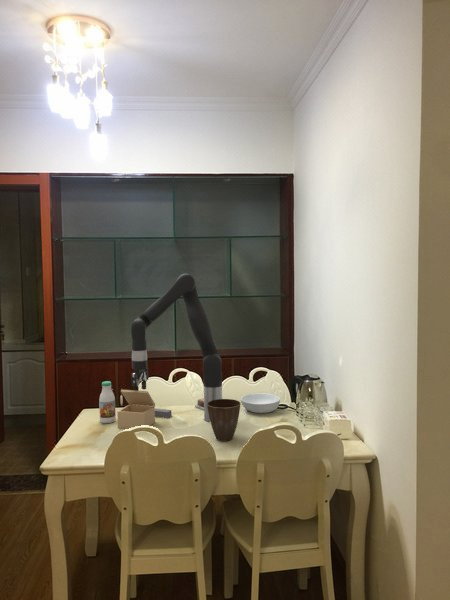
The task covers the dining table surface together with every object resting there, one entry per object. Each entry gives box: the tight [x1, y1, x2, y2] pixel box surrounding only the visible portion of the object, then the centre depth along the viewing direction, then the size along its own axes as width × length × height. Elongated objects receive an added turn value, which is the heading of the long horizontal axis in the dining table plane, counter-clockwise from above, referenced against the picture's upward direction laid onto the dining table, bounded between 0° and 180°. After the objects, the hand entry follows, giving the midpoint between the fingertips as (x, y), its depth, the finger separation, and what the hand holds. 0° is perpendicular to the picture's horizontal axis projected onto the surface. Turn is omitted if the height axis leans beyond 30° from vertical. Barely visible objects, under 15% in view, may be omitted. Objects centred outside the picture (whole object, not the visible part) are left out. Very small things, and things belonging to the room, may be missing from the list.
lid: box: [120, 389, 156, 406], centre depth 238 cm, size 14×12×1 cm
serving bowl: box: [240, 392, 281, 414], centre depth 257 cm, size 21×21×7 cm
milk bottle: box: [98, 380, 117, 424], centre depth 243 cm, size 8×8×20 cm
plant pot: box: [207, 398, 242, 442], centre depth 215 cm, size 15×15×16 cm
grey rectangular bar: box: [155, 407, 173, 419], centre depth 251 cm, size 14×4×4 cm, turn 69°
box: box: [116, 404, 156, 430], centre depth 236 cm, size 14×12×8 cm
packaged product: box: [194, 397, 204, 412], centre depth 262 cm, size 18×5×10 cm
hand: (140, 391), depth 241 cm, fingers open, 8 cm apart
